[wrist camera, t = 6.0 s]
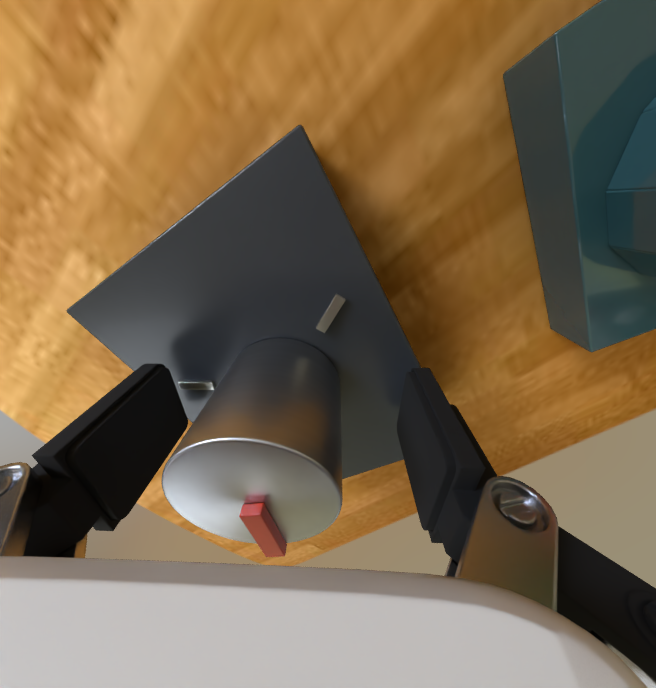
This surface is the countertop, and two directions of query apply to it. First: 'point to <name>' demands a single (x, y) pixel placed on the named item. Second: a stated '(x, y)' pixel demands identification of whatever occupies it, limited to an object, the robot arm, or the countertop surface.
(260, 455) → the rotary knob
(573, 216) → the teal button housing
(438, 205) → the countertop surface
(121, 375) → the countertop surface
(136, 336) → the plate
